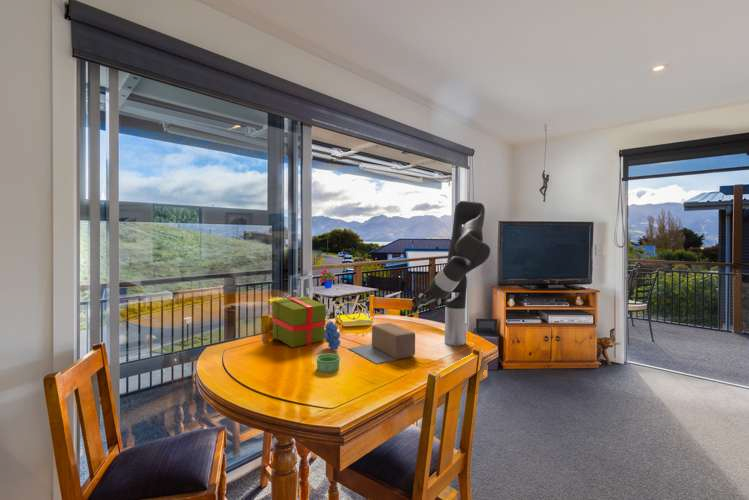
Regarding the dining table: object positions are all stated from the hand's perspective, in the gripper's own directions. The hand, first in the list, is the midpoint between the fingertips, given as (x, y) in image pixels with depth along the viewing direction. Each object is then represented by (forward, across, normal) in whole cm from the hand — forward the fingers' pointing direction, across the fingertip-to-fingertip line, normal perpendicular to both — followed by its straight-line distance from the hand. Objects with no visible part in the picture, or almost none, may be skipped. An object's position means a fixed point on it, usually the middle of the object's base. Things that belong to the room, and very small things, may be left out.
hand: (422, 309), depth 135 cm
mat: (+36, 0, -3) cm, 36 cm away
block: (+23, -5, +2) cm, 24 cm away
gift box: (+62, +23, -29) cm, 72 cm away
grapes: (+46, +16, -13) cm, 51 cm away
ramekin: (+32, +27, +1) cm, 42 cm away
